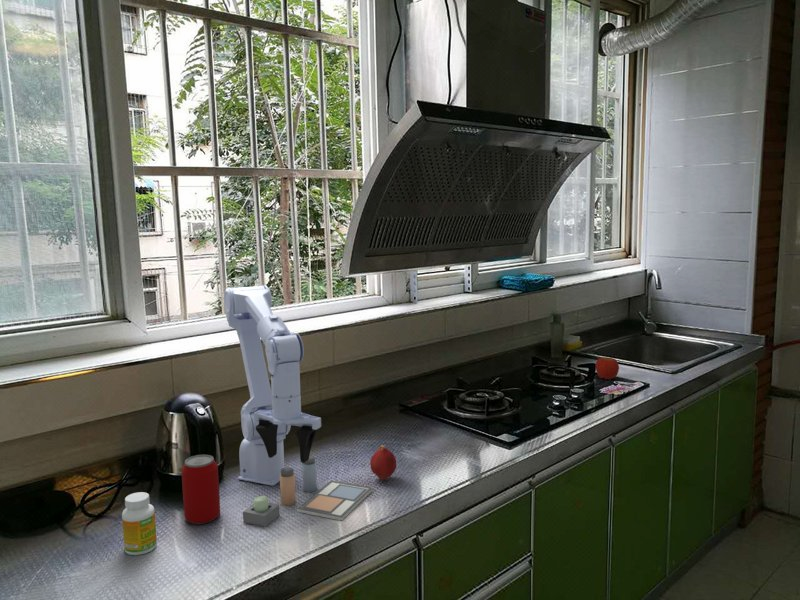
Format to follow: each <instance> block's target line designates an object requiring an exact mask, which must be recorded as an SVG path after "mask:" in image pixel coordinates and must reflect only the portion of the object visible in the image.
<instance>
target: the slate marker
mask: <svg viewBox="0 0 800 600" xmlns="http://www.w3.org/2000/svg"><path fill="white" fill-rule="evenodd" d="M301 470H302V471H301V475H302V490H303V491H304V492H307V493H311V492H315V491H317V489H318V482H317V477H318V476H317V461H316V457H315V456H314V455H309V460H307V461H306V462H305V463H301Z"/></svg>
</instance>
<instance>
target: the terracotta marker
mask: <svg viewBox="0 0 800 600" xmlns="http://www.w3.org/2000/svg"><path fill="white" fill-rule="evenodd" d="M295 477H296V475H295V472H294V468H293V467H292V466H291V467H288V466H287V467H285V466H284V468H282V469H281V474H280V481H279V485H280V504H281V505H282V506H292V505H294V504H295V503H296V501H297V500H296V478H295Z"/></svg>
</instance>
